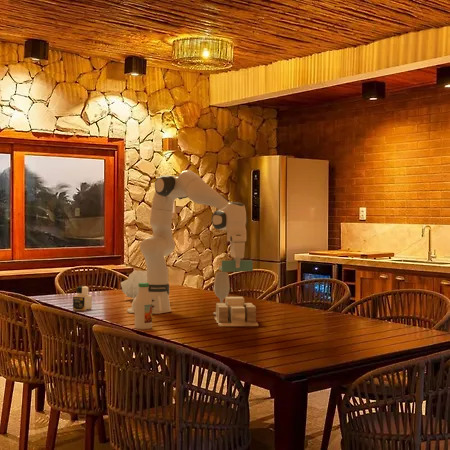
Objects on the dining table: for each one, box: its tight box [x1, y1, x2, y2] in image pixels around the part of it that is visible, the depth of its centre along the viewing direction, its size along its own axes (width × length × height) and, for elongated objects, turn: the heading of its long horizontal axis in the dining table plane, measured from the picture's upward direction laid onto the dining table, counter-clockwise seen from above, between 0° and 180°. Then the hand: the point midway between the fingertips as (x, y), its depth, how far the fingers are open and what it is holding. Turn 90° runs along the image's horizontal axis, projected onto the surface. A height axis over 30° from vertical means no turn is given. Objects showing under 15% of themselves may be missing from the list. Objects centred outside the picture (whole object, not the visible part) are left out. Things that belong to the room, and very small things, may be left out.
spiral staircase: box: [120, 269, 147, 300], centre depth 388 cm, size 18×18×25 cm
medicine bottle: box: [72, 285, 93, 311], centre depth 352 cm, size 7×7×12 cm
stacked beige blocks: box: [214, 296, 259, 327], centre depth 315 cm, size 20×18×11 cm
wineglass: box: [212, 271, 231, 316], centre depth 340 cm, size 9×9×21 cm
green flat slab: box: [218, 259, 254, 273], centre depth 314 cm, size 14×14×5 cm
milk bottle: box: [134, 283, 153, 330], centre depth 297 cm, size 8×8×20 cm
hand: (237, 267), depth 308 cm, fingers closed on green flat slab
